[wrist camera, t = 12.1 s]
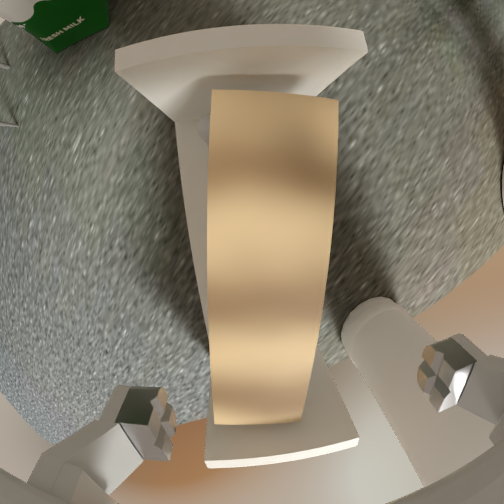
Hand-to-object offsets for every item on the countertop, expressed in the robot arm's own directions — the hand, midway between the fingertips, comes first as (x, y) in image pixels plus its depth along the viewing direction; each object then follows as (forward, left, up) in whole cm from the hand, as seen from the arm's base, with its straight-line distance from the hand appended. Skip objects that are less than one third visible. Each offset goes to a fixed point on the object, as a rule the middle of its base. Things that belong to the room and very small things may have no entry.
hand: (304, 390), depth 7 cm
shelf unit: (0, 0, -19) cm, 19 cm away
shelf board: (0, 0, -10) cm, 10 cm away
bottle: (-12, +12, -19) cm, 25 cm away
